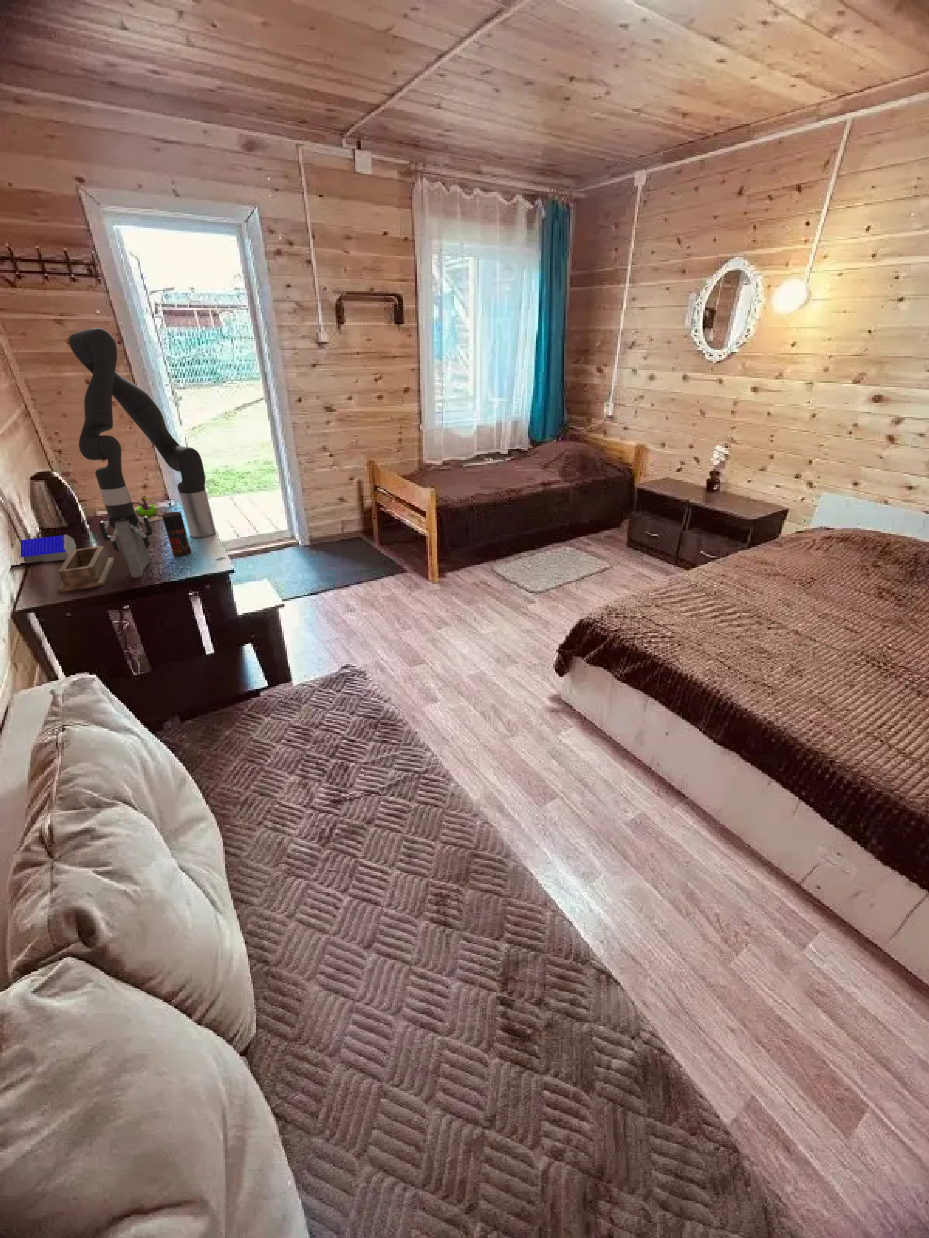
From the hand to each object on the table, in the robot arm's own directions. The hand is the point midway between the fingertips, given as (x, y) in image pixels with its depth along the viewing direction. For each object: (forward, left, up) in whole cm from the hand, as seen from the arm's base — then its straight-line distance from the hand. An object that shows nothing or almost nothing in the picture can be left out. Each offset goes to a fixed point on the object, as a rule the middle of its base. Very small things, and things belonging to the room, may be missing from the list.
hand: (133, 549), depth 174 cm
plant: (+2, -61, -8) cm, 62 cm away
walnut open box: (+15, -1, -7) cm, 17 cm away
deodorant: (-13, -9, -7) cm, 17 cm away
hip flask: (0, 0, -7) cm, 7 cm away
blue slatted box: (+35, -27, -7) cm, 45 cm away
